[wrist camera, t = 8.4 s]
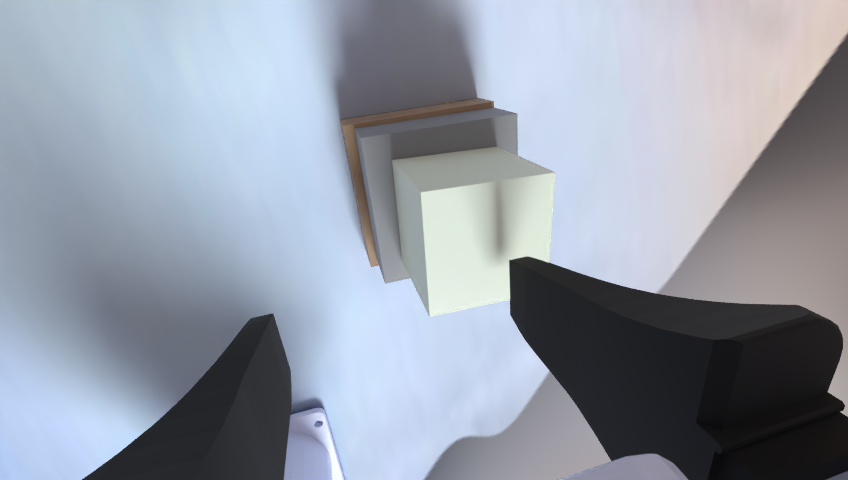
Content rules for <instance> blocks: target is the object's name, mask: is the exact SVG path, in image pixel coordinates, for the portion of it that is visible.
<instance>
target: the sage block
mask: <svg viewBox="0 0 848 480" xmlns="http://www.w3.org/2000/svg"><path fill="white" fill-rule="evenodd" d="M392 165H393V175H394V185H395V195H396V205H397V215H398V225H399V235H400V245H401V255H402V262H403V264H404V266H405V268H406V270H407V272H408V274H409V276H410V278H411V280H412V282H413V284H414V286H415V288H416V290H417V292H418V294H419V296H420V298H421V300H422V302H423V304H424V306H425V308H426V310H427V312H428V314H429V316H430V317H432V316H436V315H441V314H446V313H450V312H455V311H460V310H464V309H469V308H474V307H478V306H483V305H488V304H492V303H497V302H502V301H506V300H510V275H509V260H513V259H517V258H522V257H526V256H528V257H532V258H536V259H539V260H542V261H545V262H548V263H549V259H550V244H551V229H552V214H553V199H554V184H555V172H553V171H551V170H549V169H546V168H544V167H542V166H540V165H537V164H535V163H533V162H531V161H529V160H526V159H524V158H522V157H520V156H517V155H515V154H513V153H511V152H509V151H506V150H504V149H502V148H500V147H489V148H481V149H474V150H466V151H458V152H450V153H443V154H435V155H427V156H419V157H412V158H404V159H396V160H392Z"/></svg>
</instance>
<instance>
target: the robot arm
mask: <svg viewBox="0 0 848 480" xmlns="http://www.w3.org/2000/svg"><path fill="white" fill-rule="evenodd" d="M509 275H510V315H511V317H512V318H513V320H514V322H515V324H516V325H517V327H518V329H519V331H520V332H521V334H522V335H523V337H524V339H525V340H526V342H527V343H528V344H529V345H530V347H531V348H532V349H533V351H534V352H535V353H536V354H537V356H538V357H539V358H540V359H541V361H542V362H543V363H544V364H545V366H546V367H547V368H548V369H549V370H550V372H551V373H552V374H553V375H554V376H555V378H556V379H557V380H558V382H559V383H560V384H561V385H562V387H563V388H564V389H565V390H566V391H567V393H568V394H569V395H570V397H571V398H572V400H573V401H574V402H575V404H576V405H577V407H578V408H579V409H580V411H581V413H582V414H583V416H584V417H585V419H586V420H587V422H588V424H589V425H590V427H591V428H592V430H593V431H594V433H595V434H596V436H597V438H598V439H599V441H600V443H601V444H602V446H603V447H604V449H605V451H606V453H607V454H608V456H609V457H610V459H611V462H608V463H605V464H602V465H599V466H597V467H594V468H591V469H588V470H585V471H582V472H579V473H576V474H573V475H570V476H567V477H564V478H561V479H558V480H848V417H847V416H845V415H843V414H842V413H841V412H840V411H843V409H844V407H845V405H844V403H843V402H842V401H841V400H839V399H838V398H836V397H834V396H833V395H831V394H830V393H828V392H827V391H828V389H829V386H830V383H831V381H832V378H833V375H834V373H835V371H836V368H837V365H838V363H839V360H840V357H841V353H842V349H843V337H842V334H841V332H840V330H839V327H838V325H836V324H835V323H833V322H832V321H831V320H829V319H827V318H824V317H822V316H820V315H818V314H816V313H814V312H812V311H810V310H808V309H806V308H804V307H801V306H798V305H766V304H738V303H724V302H712V301H702V300H693V299H686V298H679V297H673V296H666V295H661V294H655V293H650V292H646V291H641V290H636V289H632V288H628V287H624V286H620V285H616V284H613V283H609V282H606V281H602V280H599V279H596V278H592V277H589V276H586V275H583V274H580V273H577V272H574V271H571V270H569V269H566V268H563V267H560V266H557V265H554V264H551V263H548V262H545V261H542V260H539V259H536V258H532V257H528V256H526V257H522V258H517V259H513V260H509ZM291 402H292V400H291V372H290V367H289V364H288V361H287V357H286V354H285V351H284V348H283V344H282V341H281V338H280V335H279V331H278V328H277V325H276V321H275V318H274V315H273V314H268V315H264V316H259V317H255V318H251V319H250V320H249V321H248V322H247V323H246V325H245V326H244V327H243V328H242V330H241V331H240V332H239V333H238V335H237V336H236V337H235V339H234V340H233V341H232V342H231V344H230V345H229V346H228V347H227V349H226V350H225V351H224V352H223V354H222V355H221V356H220V357H219V358H218V360H217V361H216V362H215V363H214V364H213V366H212V367H211V368H210V369H209V370H208V371H207V372H206V373H205V374H204V376H203V377H202V378H201V379H200V380H199V381H198V382H197V383H196V384H195V385H194V387H193V388H192V389H191V390H190V391H189V392H188V393H187V394H186V395H185V396H184V397H183V398H182V399H181V400H180V401H179V402H178V403H177V404H176V405H175V406H174V407H173V408H171V409H170V410H169V411H168V412H167V413H166V414H165V415H164V416H163V417H162V418H161V419H160V420H158V421H157V422H156V423H155V424H154V425H153V426H151V427H150V428H149V429H148V430H147V431H145V432H144V433H143V434H142V435H140V436H139V437H138V438H137V439H135V440H134V441H133V442H132V443H131V444H129V445H128V446H127V447H126V448H124V449H123V450H122V451H121V452H119V453H118V454H117V455H115V456H114V457H113V458H112V459H110V460H109V461H107V462H106V463H105V464H103V465H102V466H101V467H99V468H98V469H96V470H95V471H94V472H92V473H91V474H89V475H88V476H87V477H85V478H84V479H82V480H345V479H344V476H343V472H342V469H341V465H340V462H339V458H338V455H337V452H336V448H335V445H334V441H333V438H332V434H331V431H330V427H329V424H328V421H327V417H326V414H325V411H324V410H323V409H322V408H313V409H310V410H306V411H303V412H299V413H295V414H292V415H290V413H291ZM317 421H321V422H318V423H317Z"/></svg>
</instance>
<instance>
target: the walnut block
mask: <svg viewBox="0 0 848 480" xmlns="http://www.w3.org/2000/svg"><path fill="white" fill-rule="evenodd" d="M486 108H494V101H489V100H485V99H480V98H475V99H469V100H462V101H456V102H450V103H443V104H437V105H431V106H425V107H418V108H412V109H406V110H400V111H393V112H387V113H381V114H375V115H368V116H362V117H356V118H350V119H343V120H340V123H341V128H342V133H343V138H344V143H345V148H346V153H347V158H348V163H349V168H350V173H351V178H352V183H353V188H354V193H355V198H356V203H357V208H358V213H359V218H360V223H361V228H362V233H363V238H364V243H365V248H366V252H367V255H368V259H369V262H370V265H371V267H373V266H378V265H379V264H378V261H377V256H376V250H375V244H374V239H373V233H372V227H371V222H370V216H369V210H368V205H367V199H366V193H365V187H364V182H363V176H362V170H361V165H360V159H359V153H358V147H357V142H356V136H355V130H354V128H360V127H367V126H373V125H380V124H387V123H393V122H400V121H407V120H413V119H420V118H426V117H433V116H440V115H446V114H453V113H460V112H466V111H473V110H479V109H486Z"/></svg>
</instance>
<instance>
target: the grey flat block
mask: <svg viewBox="0 0 848 480" xmlns="http://www.w3.org/2000/svg"><path fill="white" fill-rule="evenodd" d="M354 130H355V136H356V142H357V147H358V153H359V159H360V165H361V170H362V176H363V182H364V187H365V193H366V199H367V205H368V210H369V216H370V222H371V227H372V233H373V239H374V244H375V250H376V256H377V261H378V264H379V267H380V269H381V272H382V275H383V278H384V281H385V283H390V282H394V281H399V280H403V279H408V278H410V276H409V274H408V272H407V270H406V268H405V266H404V264H403V262H402V255H401V245H400V235H399V225H398V215H397V205H396V195H395V185H394V175H393V165H392V160H396V159H404V158H412V157H419V156H427V155H435V154H443V153H450V152H458V151H466V150H474V149H481V148H489V147H500V148H502V149H504V150H506V151H509V152H511V153H513V154H515V155H517V156H518V140H517V114H516V113H513V112H509V111H505V110H501V109H497V108H486V109H479V110H473V111H466V112H460V113H453V114H446V115H440V116H433V117H426V118H420V119H413V120H407V121H400V122H393V123H387V124H380V125H373V126H367V127H360V128H354Z"/></svg>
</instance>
